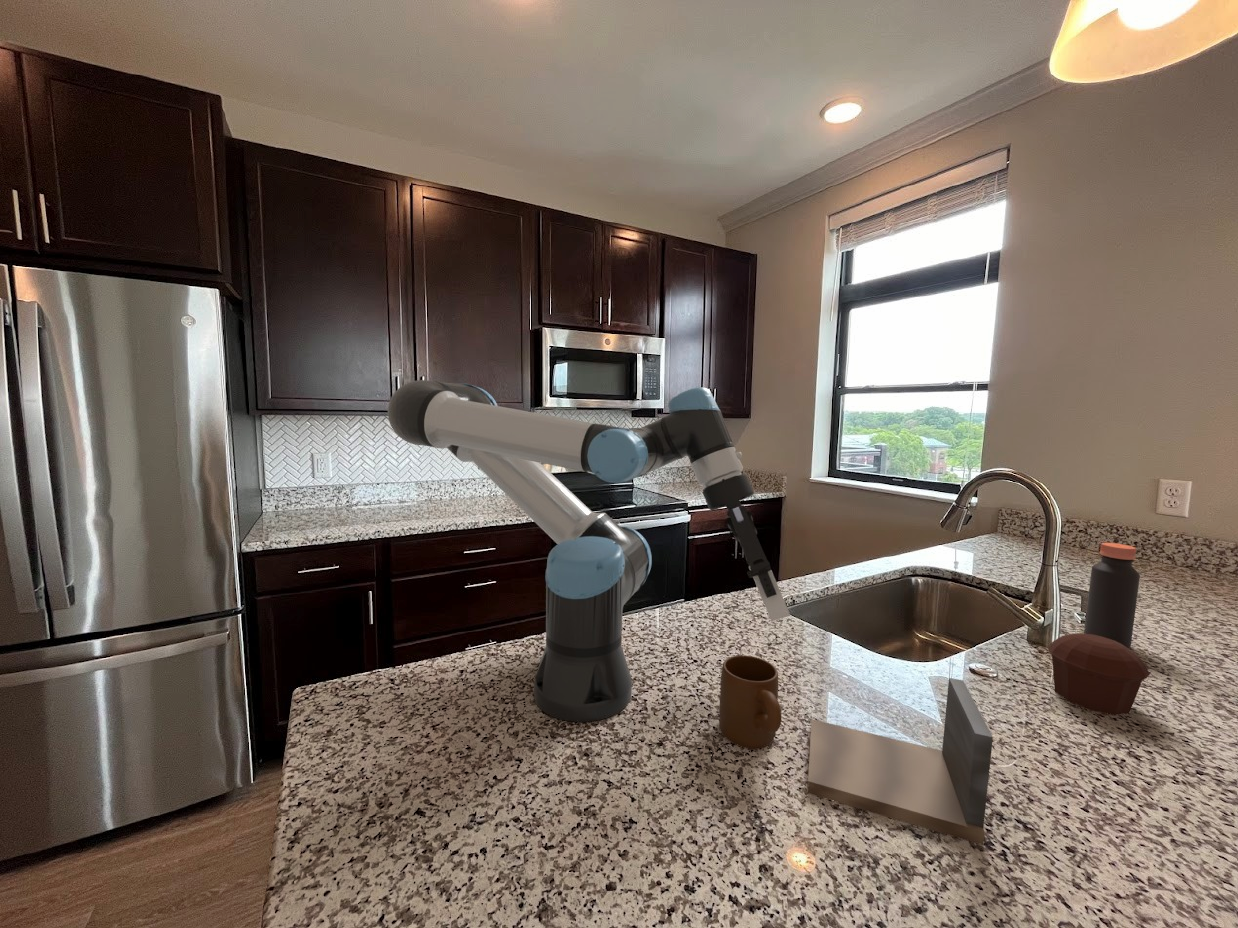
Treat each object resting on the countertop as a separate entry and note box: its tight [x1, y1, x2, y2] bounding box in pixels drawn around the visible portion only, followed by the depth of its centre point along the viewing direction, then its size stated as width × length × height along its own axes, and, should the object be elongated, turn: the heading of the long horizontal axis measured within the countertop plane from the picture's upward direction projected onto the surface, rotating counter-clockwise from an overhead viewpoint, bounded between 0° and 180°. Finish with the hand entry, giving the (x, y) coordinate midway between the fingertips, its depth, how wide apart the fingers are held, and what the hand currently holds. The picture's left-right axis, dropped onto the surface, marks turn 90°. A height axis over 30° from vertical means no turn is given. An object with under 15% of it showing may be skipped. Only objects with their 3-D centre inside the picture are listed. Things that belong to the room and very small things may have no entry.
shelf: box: [807, 677, 994, 846], centre depth 60 cm, size 17×13×12 cm
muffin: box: [1046, 632, 1151, 717], centre depth 78 cm, size 12×11×10 cm
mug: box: [718, 654, 782, 750], centre depth 66 cm, size 12×8×9 cm, turn 9°
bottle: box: [1083, 542, 1141, 649], centre depth 99 cm, size 7×7×20 cm
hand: (775, 609), depth 76 cm, fingers open, 13 cm apart
